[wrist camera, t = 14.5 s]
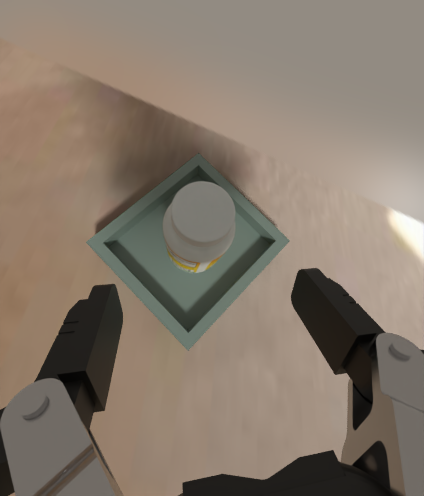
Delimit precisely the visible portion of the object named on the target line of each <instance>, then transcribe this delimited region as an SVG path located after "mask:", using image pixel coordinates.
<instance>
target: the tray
mask: <svg viewBox="0 0 424 496" xmlns="http://www.w3.org/2000/svg"><path fill="white" fill-rule="evenodd" d="M198 181H205V182H211V183H214V184H216V185H218V186H220V187H222V188H223V189H224V190H225V191H226V192H227V193H228V194H229V195H230V197H231V198H232V201H233V203H234V206H235V227H236V228H235V236H234V239H233V242H232V244H231V245H230V247H229V248H228V250H227V251H226V252H225V253H224V254H223V255H222V256H221V257H220V258H219V259H218V260H217V262H216V263H215V264H214V265H213V266H212V267H210V268H209V269H207V270H206V271H203V272H200V273H189V272H185V271H183V270H181V269H179V268H178V267H177V266H175V265H174V264H173V262H172V261H171V259H170V257H169V255H168V251H167V247H166V243H165V239H164V235H163V218H164V215H165V212H166V210H167V209H168V207H169V206H170V204H171V203H172V201H173V199H174V197H175V195H176V194H177V192H178V191H179V190H180V189H181V188H183V187H184V186H186V185H188V184H190V183H193V182H198ZM288 242H289V240H288V239H287V238H286V237H285V236H284V235H283V234H282V233H281V232H280V231H279V230H278V229H277V228H276V227H275V226H274V225H273V224H272V223H271V222H270V221H269V220H268V219H267V218H266V217H265V216H264V215H262V214H261V213H260V212H259V211H258V210H257V209H256V208H255V207H254V206H253V205H252V204H251V203H250V202H249V201H248V200H247V199H246V198H245V197H244V196H243V195H242V194H241V193H240V192H239V191H238V190H237V189H236V188H234V187H233V186H232V185H231V184H230V183H229V182H228V181H227V180H226V179H225V178H224V177H223V176H222V175H221V174H220V173H219V172H218V171H217V170H216V169H215V168H214V167H213V166H212V165H211V164H210V163H209V162H208V161H206V160H205V159H204V158H203V157H202V156H201V155H200V154H199V153H198V154H197V155H195V156H194V157H193V158H192V159H190V160H189V161H188V162H187V163H185V164H184V165H183V166H182V167H180V168H179V169H178V170H176V171H175V172H174V173H173V174H171V175H170V176H169V177H168V178H166V179H165V180H164V181H163V182H161V183H160V184H159V185H158V186H156V187H155V188H154V189H152V190H151V191H150V192H149V193H147V194H146V195H145V196H144V197H142V198H141V199H140V200H139V201H137V202H136V203H135V204H134V205H132V206H131V207H130V208H129V209H127V210H126V211H125V212H123V213H122V214H121V215H120V216H118V217H117V218H116V219H115V220H113V221H112V222H111V223H110V224H108V225H107V226H106V227H105V228H103V229H102V230H101V231H100V232H98V233H97V234H96V235H94V236H93V237H92V238H91V239H89V240H88V241H87V242H86V243H87V244H88V245H89V246H90V247H91V248H92V249H93V250H94V251H95V252H96V253H97V254H98V256H99V257H100V258H101V259H102V260H103V261H104V262H105V263H106V264H107V265H108V266H109V267H110V268H111V269H112V270H113V271H114V273H115V274H116V275H117V276H118V277H119V278H120V279H121V280H122V281H123V282H124V283H125V284H126V285H127V286H128V287H129V288H130V290H131V291H132V292H133V293H134V294H135V295H136V296H137V297H138V298H139V299H140V300H141V301H142V302H143V303H144V304H145V306H146V307H147V308H148V309H149V310H150V311H151V312H152V313H153V314H154V315H155V316H156V317H157V318H158V319H159V320H160V321H161V323H162V324H163V325H164V326H165V327H166V328H167V329H168V330H169V331H170V332H171V333H172V334H173V335H174V336H175V337H176V338H177V340H178V341H179V342H180V343H181V344H182V345H183V346H184V347H185V348H186V349H187V350H189V349H190V348H191V347H192V346H193V345H194V344H195V343H196V342H197V341H198V339H199V338H200V337H201V336H202V335H203V334H204V333H205V332H206V331H207V330H208V329H209V328H210V327H211V325H212V324H213V323H214V322H215V321H216V320H217V319H218V318H219V317H220V316H221V315H222V314H223V312H224V311H225V310H226V309H227V308H228V307H229V306H230V305H231V304H232V303H233V302H234V301H235V299H236V298H237V297H238V296H239V295H240V294H241V293H242V292H243V291H244V290H245V289H246V288H247V287H248V285H249V284H250V283H251V282H252V281H253V280H254V279H255V278H256V277H257V276H258V275H259V274H260V272H261V271H262V270H263V269H264V268H265V267H266V266H267V265H268V264H269V263H270V262H271V261H272V260H273V258H274V257H275V256H276V255H277V254H278V253H279V252H280V251H281V250H282V249H283V248H284V247H285V245H286V244H287V243H288Z"/></svg>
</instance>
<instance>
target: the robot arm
mask: <svg viewBox="0 0 424 496" xmlns="http://www.w3.org/2000/svg"><path fill="white" fill-rule="evenodd" d="M291 301H292V305H293V307H294V309H295V310H296V312H297V314H298V315H299V317H300V319H301V320H302V322H303V323H304V325H305V327H306V328H307V330H308V332H309V333H310V335H311V336H312V338H313V340H314V341H315V343H316V344H317V346H318V348H319V349H320V351H321V353H322V354H323V356H324V357H325V359H326V361H327V362H328V364H329V365H330V367H331V369H332V370H333V372H334V374H335V375H337V374H344V373H347V374H348V375H349V377H350V380H349V382H348V413H347V436H346V440H345V443H344V446H343V450H342V456H341V462H339V461H338V459H337V457H336V455H335V453H334V451H333V450H331V451H327V452H322V453H318V454H313V455H308V456H304V457H299V458H298V459H296V460H295V461H293V462H292V463H290V464H289V465H287V466H286V467H284V468H283V469H281V470H280V471H279V472H277V473H276V474H274V475H273V476H271V477H270V478H268V479H265V480H260V479H253V478H246V477H239V476H233V475H226V474H220V475H216V476H211V477H206V478H202V479H197V480H192V481H188V482H183V493H182V494H180V495H179V496H424V350H420V349H419V348H418V347H417V346H416V345H414V344H413V343H412V342H410V341H409V340H407V339H405V338H403V337H401V336H399V335H396V334H392V333H386V332H384V331H383V329H382V328H381V327H380V326H379V325H378V324H377V323H376V322H375V321H374V320H373V319H372V318H371V317H370V316H369V315H368V314H367V313H366V312H365V311H364V310H363V308H362V307H361V306H360V305H359V304H358V303H356V301H355V300H354V299H353V298H352V297H351V296H349V294H348V293H347V292H346V291H345V290H344V289H343V287H342V286H341V285H339V284H338V283H336V282H334V281H333V280H331V279H330V278H327V277H326V276H325V275H324V274H323V273H322V272H321V271H320V270H319V269H317V268H311V269H301V270H299V271H298V273H297V276H296V280H295V283H294V287H293V290H292V294H291ZM122 324H123V312H122V308H121V304H120V300H119V296H118V292H117V288H116V285H115V284H108V285H95V286H94V287H93V288H92V290H91V293H90V295H89V298H88V299H85V300H79V301H78V302H77V303H76V304H75V305H74V306H73V307H72V308H71V309H70V310H69V312H68V314H67V316H66V318H65V320H64V322H63V325H62V326H61V328H60V331H59V334H58V336H57V337H56V339H55V341H54V343H53V345H52V347H51V349H50V351H49V353H48V355H47V358H46V360H45V362H44V364H43V366H42V368H41V370H40V372H39V374H38V376H37V378H36V380H35V381H34V383H32V384H30V385H28V386H27V387H25V388H24V389H22V390H21V391H20V392H19V393H18V394H17V395H16V396H15V397H14V398H13V399H12V400H11V401H10V402H9V403H8V405H7V407H5V408H3V409H1V410H0V496H8V495H10V494H12V493H14V492H15V495H16V496H124V495H123V493H122V491H121V490H120V488H119V486H118V484H117V482H116V480H115V478H114V476H113V474H112V472H111V470H110V468H109V466H108V464H107V462H106V460H105V458H104V456H103V454H102V452H101V450H100V448H99V446H98V444H97V442H96V440H95V438H94V436H93V434H92V432H91V430H90V425H91V420H92V416H93V412H99V411H105V406H106V401H107V396H108V392H109V387H110V382H111V377H112V372H113V368H114V363H115V358H116V353H117V348H118V343H119V339H120V334H121V329H122Z"/></svg>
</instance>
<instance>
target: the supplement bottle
mask: <svg viewBox="0 0 424 496" xmlns="http://www.w3.org/2000/svg"><path fill="white" fill-rule="evenodd" d="M235 228H236V227H235V206H234V203H233V201H232V198H231V197H230V195H229V194H228V193H227V192H226V191H225V190H224V189H223V188H222V187H220V186H218V185H216V184H214V183H211V182H205V181H198V182H193V183H190V184H188V185H186V186H184V187H183V188H181V189H180V190H179V191H178V192H177V194H176V195H175V197H174V199H173V201H172V203H171V204H170V206H169V207H168V209H167V210H166V212H165V215H164V218H163V235H164V239H165V243H166V247H167V251H168V255H169V257H170V259H171V261H172V262H173V264H174V265H175V266H177V267H178V268H179V269H181V270H183V271H185V272H189V273H200V272H203V271H206V270H207V269H209V268H210V267H212V266H213V265H214V264H215V263H216V262H217V260H218V259H219V258H220V257H221V256H222V255H223V254H224V253H225V252H226V251H227V250H228V248H229V247H230V245H231V244H232V242H233V239H234V236H235Z"/></svg>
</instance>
